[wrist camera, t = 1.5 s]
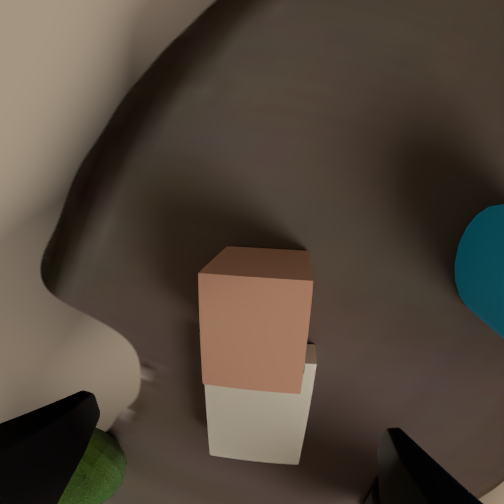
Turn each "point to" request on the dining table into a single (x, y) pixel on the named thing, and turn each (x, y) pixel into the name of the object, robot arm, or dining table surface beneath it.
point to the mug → (483, 267)
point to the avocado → (96, 472)
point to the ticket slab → (260, 420)
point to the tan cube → (255, 318)
